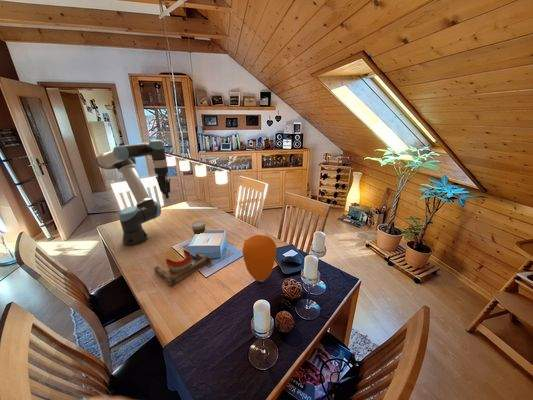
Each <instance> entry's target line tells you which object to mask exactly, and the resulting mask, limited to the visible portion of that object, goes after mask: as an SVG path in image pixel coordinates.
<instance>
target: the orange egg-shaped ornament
mask: <svg viewBox="0 0 533 400" xmlns="http://www.w3.org/2000/svg"><path fill="white" fill-rule="evenodd" d="M277 248H278V247H277V244H276V242H275V240H273V239H272V237H270V236H268V235H264V234H263V235H261V234H255V235H252V236H250V237H248V238H246V239H245V240H244V242H243V246H242V257H243V260H244V264H245V266H246V267H245V268H246V270H247V272H248V273H249V275H250V276H251V277H252V278H253V280H255V281H257V282H261V283H262V282H265V281H266V280H267V279H268V278H269V277H270V275H271V274H272V271H273V269H274V265H275V261H276V255H277Z"/></svg>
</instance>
